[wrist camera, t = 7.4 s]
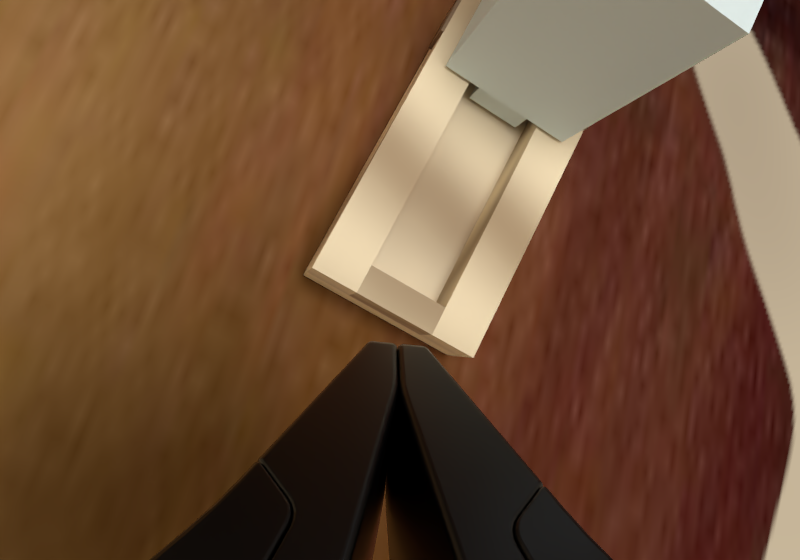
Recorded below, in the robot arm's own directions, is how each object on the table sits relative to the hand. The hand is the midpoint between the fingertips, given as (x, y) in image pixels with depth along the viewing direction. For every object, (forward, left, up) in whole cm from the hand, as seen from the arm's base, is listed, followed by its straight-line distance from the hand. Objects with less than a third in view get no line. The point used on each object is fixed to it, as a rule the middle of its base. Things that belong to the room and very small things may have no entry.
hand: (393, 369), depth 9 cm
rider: (+12, -4, -11) cm, 17 cm away
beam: (+12, -4, -13) cm, 18 cm away
